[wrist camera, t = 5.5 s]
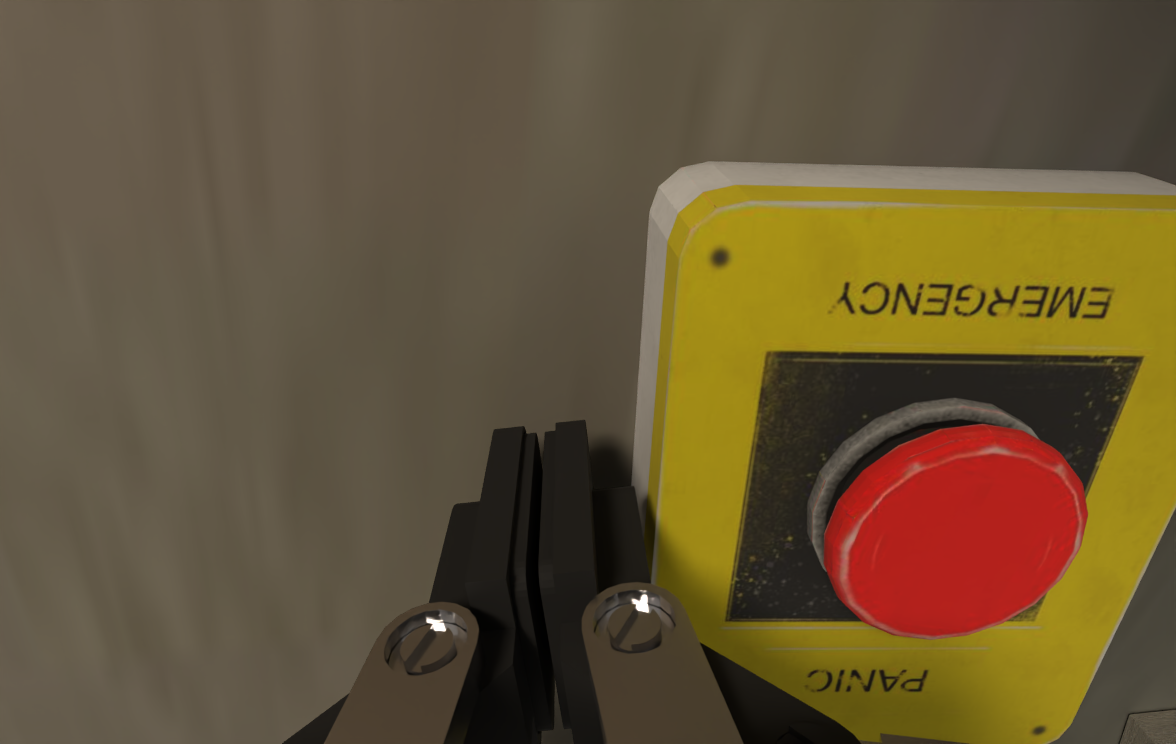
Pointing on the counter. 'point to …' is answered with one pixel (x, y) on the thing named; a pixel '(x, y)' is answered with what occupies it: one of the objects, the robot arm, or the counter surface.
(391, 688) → the robot arm
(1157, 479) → the emergency button
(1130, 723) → the rail fixture
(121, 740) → the counter surface
